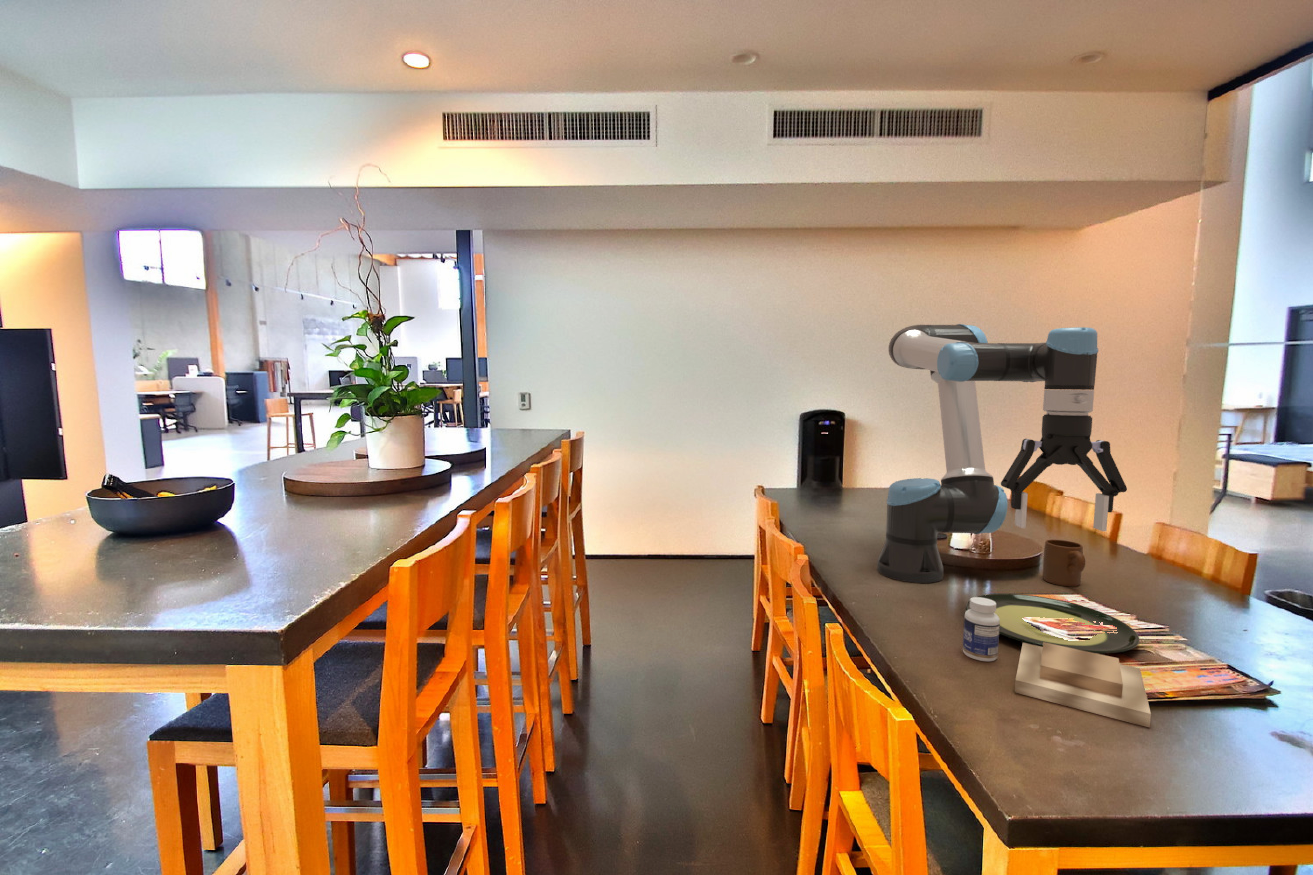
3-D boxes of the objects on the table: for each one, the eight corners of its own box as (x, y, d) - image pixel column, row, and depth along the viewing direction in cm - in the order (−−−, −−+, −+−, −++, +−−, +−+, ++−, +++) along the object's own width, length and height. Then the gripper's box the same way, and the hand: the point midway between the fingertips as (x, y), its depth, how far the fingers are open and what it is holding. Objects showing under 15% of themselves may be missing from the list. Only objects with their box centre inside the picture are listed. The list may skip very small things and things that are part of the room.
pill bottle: (960, 646, 107) (963, 593, 106) (994, 651, 105) (997, 597, 104) (964, 659, 102) (968, 604, 101) (1000, 664, 100) (1003, 608, 99)
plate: (1084, 679, 96) (1085, 664, 96) (933, 617, 120) (934, 606, 120) (1169, 644, 109) (1170, 631, 108) (1017, 595, 133) (1018, 584, 133)
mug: (1099, 594, 133) (1102, 553, 132) (1062, 593, 134) (1065, 552, 133) (1069, 577, 145) (1072, 539, 144) (1036, 575, 146) (1038, 538, 145)
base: (1014, 692, 91) (1016, 667, 91) (1022, 653, 104) (1023, 631, 104) (1149, 727, 82) (1152, 699, 81) (1139, 680, 95) (1141, 656, 94)
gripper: (1002, 413, 106) (995, 529, 108) (1157, 415, 103) (1147, 535, 105) (985, 411, 114) (979, 520, 116) (1129, 413, 110) (1121, 526, 112)
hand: (1059, 528), depth 110 cm, fingers open, 13 cm apart
